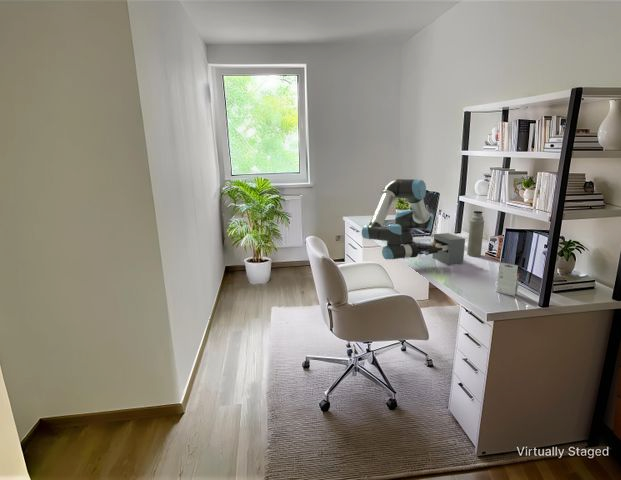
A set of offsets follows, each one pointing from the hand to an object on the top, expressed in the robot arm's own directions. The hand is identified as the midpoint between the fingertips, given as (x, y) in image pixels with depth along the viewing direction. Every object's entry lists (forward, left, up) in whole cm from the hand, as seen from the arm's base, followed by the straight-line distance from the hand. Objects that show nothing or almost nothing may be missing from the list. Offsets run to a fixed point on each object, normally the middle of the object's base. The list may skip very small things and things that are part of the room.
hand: (445, 248), depth 215 cm
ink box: (+47, +12, -10) cm, 50 cm away
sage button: (-1, +3, -1) cm, 3 cm away
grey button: (-5, -1, -1) cm, 5 cm away
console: (-6, +4, -9) cm, 12 cm away
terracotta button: (-9, -3, -1) cm, 10 cm away
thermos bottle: (-18, +25, -10) cm, 32 cm away
